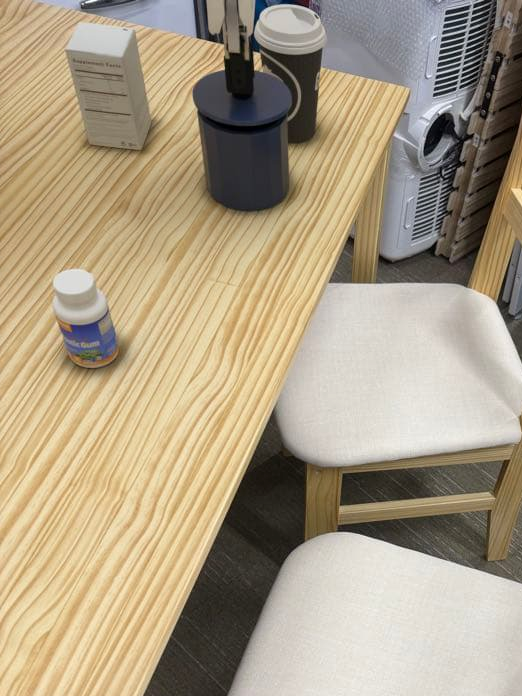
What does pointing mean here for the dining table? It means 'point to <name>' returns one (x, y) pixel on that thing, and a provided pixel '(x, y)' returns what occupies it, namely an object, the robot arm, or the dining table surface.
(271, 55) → the coffee cup
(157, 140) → the dining table surface
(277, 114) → the lid
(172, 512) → the dining table surface
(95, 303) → the pill bottle
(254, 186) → the tin
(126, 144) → the white packaging box
